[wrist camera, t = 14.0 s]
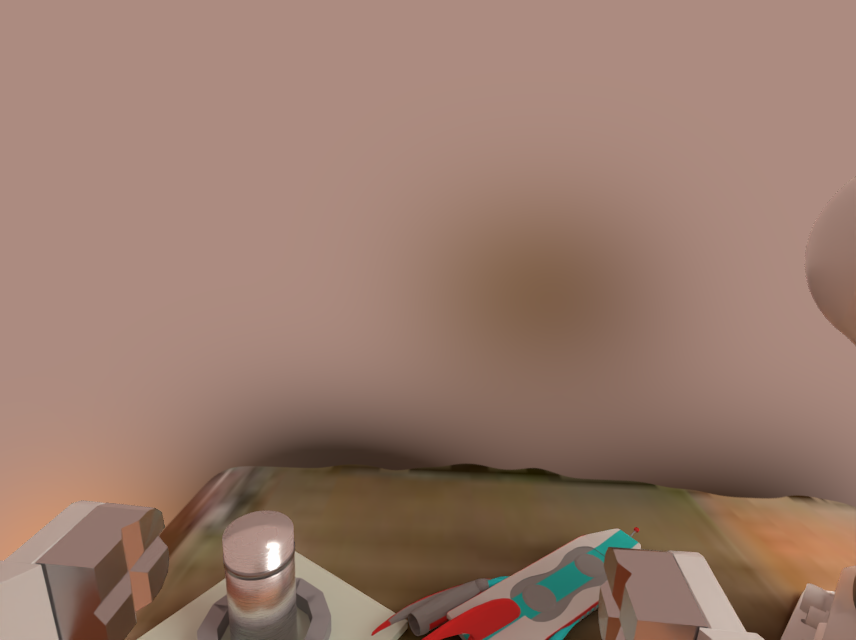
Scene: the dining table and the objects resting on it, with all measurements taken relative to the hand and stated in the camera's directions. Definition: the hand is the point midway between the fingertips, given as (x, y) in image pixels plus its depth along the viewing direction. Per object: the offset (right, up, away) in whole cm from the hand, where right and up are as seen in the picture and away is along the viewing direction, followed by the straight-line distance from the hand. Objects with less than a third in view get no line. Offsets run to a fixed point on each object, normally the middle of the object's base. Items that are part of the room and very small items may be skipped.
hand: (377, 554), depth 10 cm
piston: (-12, -21, +32) cm, 40 cm away
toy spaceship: (+10, -21, +37) cm, 44 cm away
